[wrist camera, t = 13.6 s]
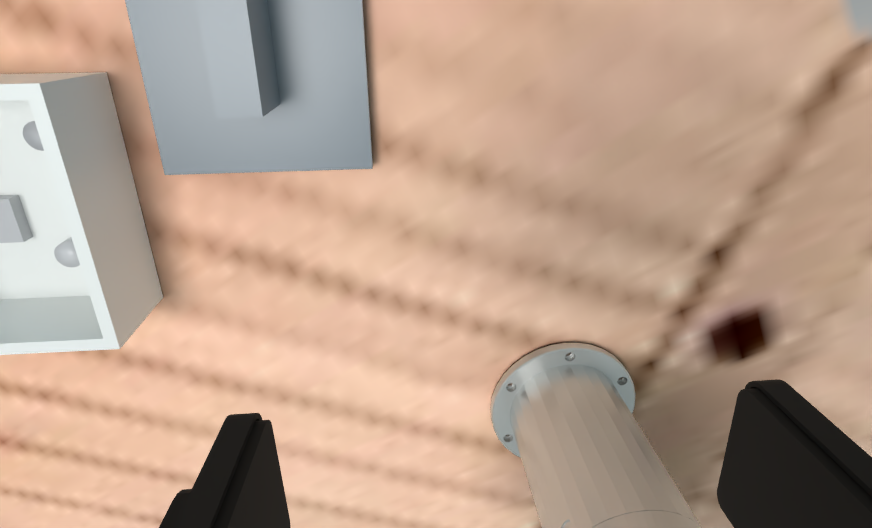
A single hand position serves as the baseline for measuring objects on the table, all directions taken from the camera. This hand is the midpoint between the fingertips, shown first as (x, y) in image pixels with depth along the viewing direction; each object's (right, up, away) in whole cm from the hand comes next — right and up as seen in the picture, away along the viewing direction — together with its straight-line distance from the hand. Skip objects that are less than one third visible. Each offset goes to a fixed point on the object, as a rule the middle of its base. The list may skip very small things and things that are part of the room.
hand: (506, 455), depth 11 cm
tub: (-29, +8, +26) cm, 39 cm away
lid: (-13, +18, +23) cm, 32 cm away
